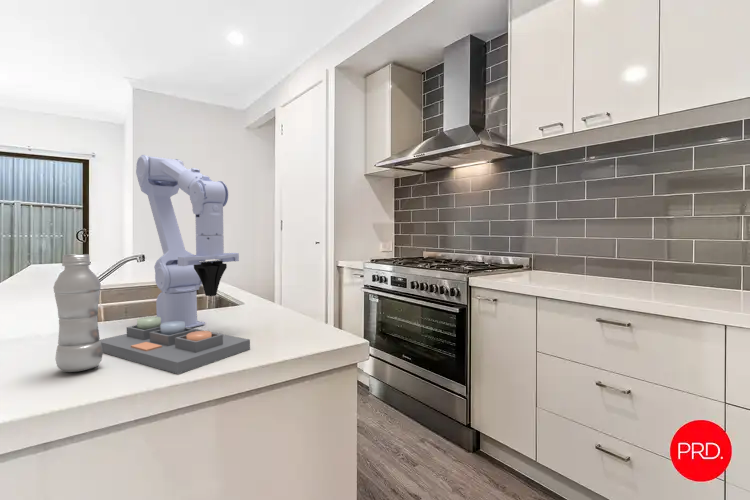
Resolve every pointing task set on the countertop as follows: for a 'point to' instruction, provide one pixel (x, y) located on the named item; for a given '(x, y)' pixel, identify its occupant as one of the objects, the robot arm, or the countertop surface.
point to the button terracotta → (198, 335)
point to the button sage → (148, 323)
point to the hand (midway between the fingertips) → (210, 295)
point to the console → (172, 348)
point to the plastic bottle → (77, 315)
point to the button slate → (172, 327)
